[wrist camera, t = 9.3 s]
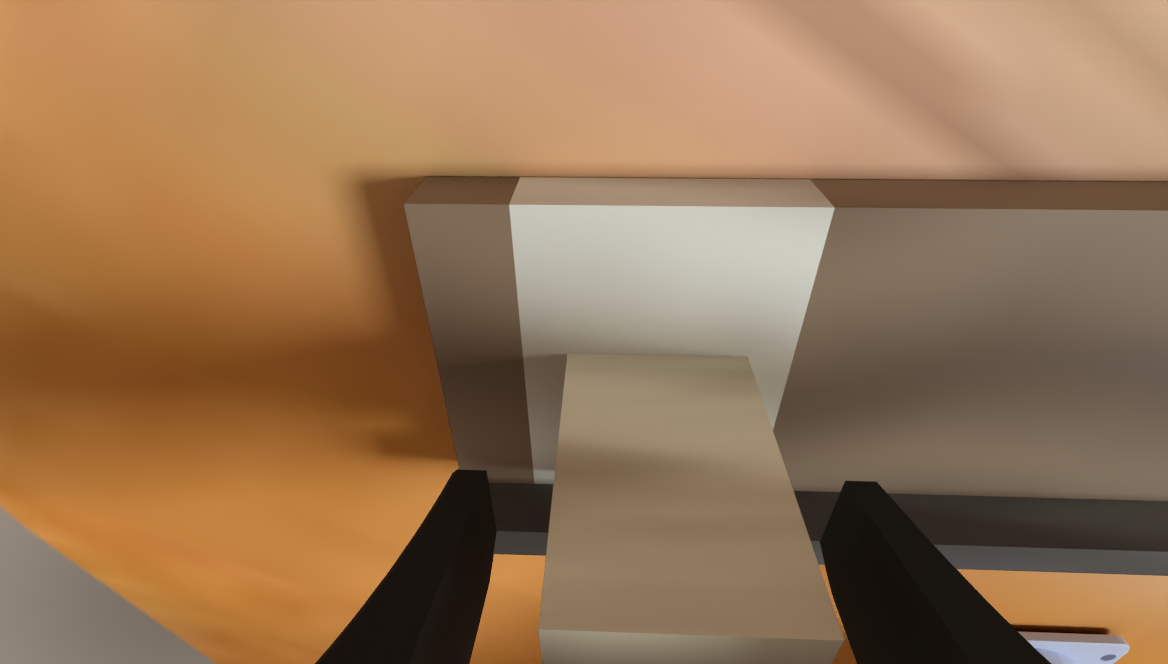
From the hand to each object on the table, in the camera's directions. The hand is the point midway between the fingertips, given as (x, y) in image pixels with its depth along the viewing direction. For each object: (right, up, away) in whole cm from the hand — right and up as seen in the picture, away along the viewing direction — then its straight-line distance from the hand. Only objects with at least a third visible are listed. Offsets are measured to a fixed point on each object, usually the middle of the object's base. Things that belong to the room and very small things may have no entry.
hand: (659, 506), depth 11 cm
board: (+8, +3, +2) cm, 9 cm away
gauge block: (0, +1, +2) cm, 3 cm away
